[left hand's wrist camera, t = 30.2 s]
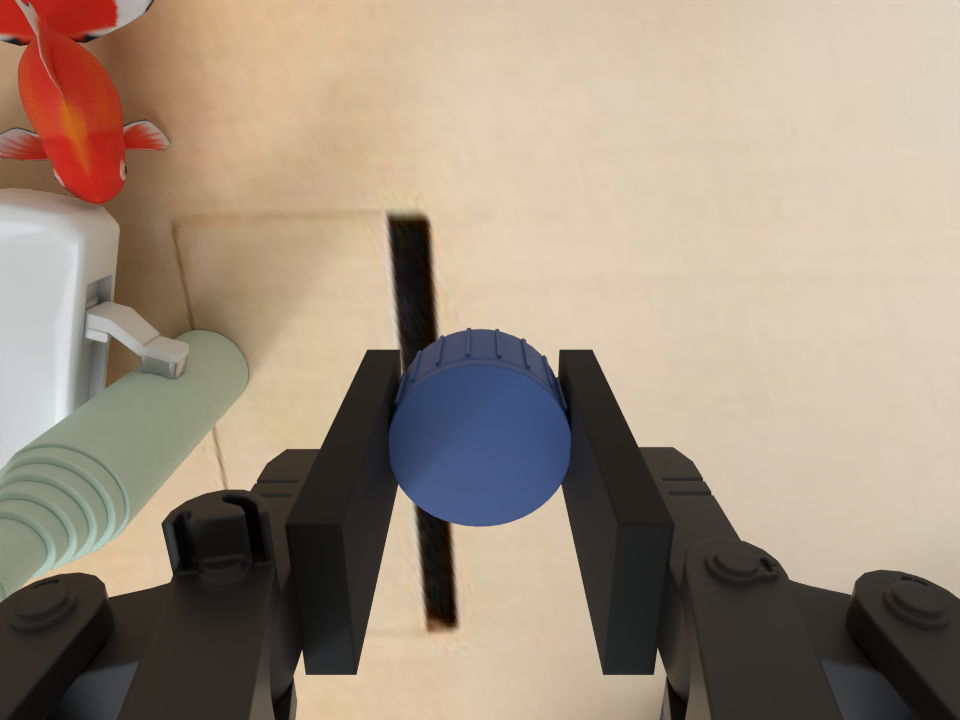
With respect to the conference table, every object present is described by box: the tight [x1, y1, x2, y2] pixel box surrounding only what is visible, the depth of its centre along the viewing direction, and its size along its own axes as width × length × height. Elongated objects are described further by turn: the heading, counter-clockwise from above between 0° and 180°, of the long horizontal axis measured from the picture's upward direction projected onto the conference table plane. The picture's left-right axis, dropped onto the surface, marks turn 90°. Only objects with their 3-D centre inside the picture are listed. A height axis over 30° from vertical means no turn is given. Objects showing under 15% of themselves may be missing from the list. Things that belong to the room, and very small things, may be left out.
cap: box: [388, 328, 571, 527], centre depth 14 cm, size 4×4×2 cm
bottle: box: [0, 330, 249, 602], centre depth 31 cm, size 5×5×21 cm
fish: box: [0, 0, 170, 204], centre depth 30 cm, size 11×16×10 cm
